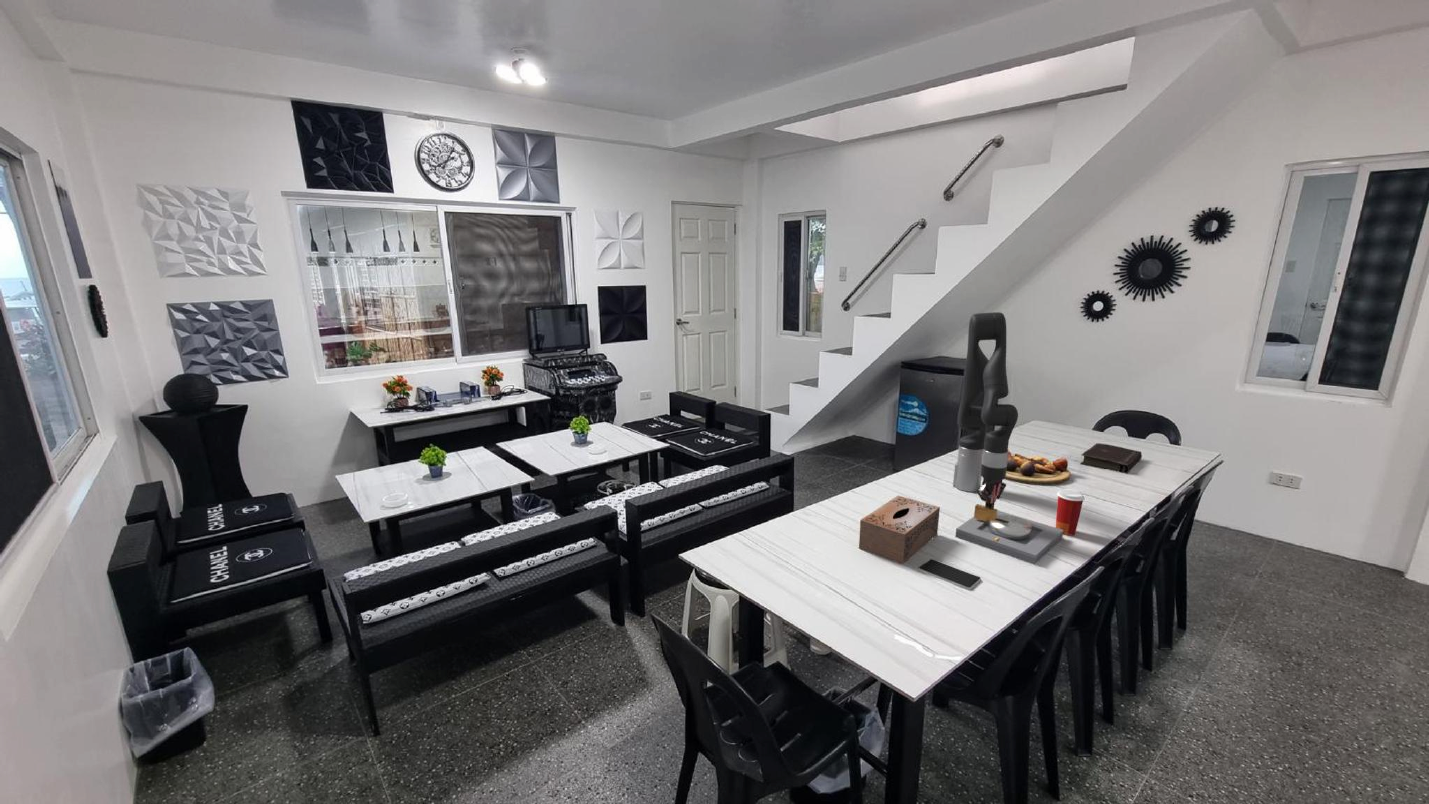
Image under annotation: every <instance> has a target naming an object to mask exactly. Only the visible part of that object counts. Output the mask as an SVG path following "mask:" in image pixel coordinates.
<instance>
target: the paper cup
mask: <svg viewBox="0 0 1429 804" xmlns="http://www.w3.org/2000/svg"><path fill="white" fill-rule="evenodd" d="M1056 496H1057V505H1056V519H1055V528H1058V529H1062V530H1063V536H1071V537H1072V536H1074V535H1076V533H1077V532H1076V531H1077V528H1078V525H1079V520H1080V516H1081V511H1082V507H1083V503H1084V501H1085V498H1086V497H1085V496H1084V494H1083V492H1082V491H1080V490H1076V489H1072V488H1061V489H1059V490H1058V492H1057V493H1056Z"/></svg>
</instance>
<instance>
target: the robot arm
mask: <svg viewBox="0 0 1429 804" xmlns="http://www.w3.org/2000/svg"><path fill="white" fill-rule="evenodd" d="M967 335H968V337H967V352H966V359H965V366H964V371H963V378H962V379H963V380H962V381H963V382H962V390H961V398H960V401H959V402H960V403H959V408H958V413H957V427H958V428H959V429H962V430H968V431H976V432H974V433H972V434H968V435H964V436H962V437H960V439H959V441H958V443H959V444H958V453H957V461H956V463H955V464H954V470H953V471H954V472H953V480H952V481H953V482H952V486H953V487H955V488H956V489H958V490H959V491H964V492H976V493H977V494H978V497H979V498H980V500H981V501H983V502H985V504H984V506H986V507H990V508H994V509H995V503H996V502H997V500H1000V498H1001V496H1002V494H1003V493H1004V490H1005V488H1006V487H1007V483H1005V482H1003V480H1006V479H1005V477H1006V469H1007V460H1008V450H1009V444H1010V443H1009V441H1010V438H1011V436H1012V433H1013V431H1014V428H1015V426H1016V424H1017V422H1018V418H1019V412H1018V409H1017V407H1016V406H1015V405H1013V404H1004V403H1001V404H1000V403H999V404H998V403H997V404H996V403H995V400H996V401H997V400H1000V399H1005V398H1006V397H1008V396H1009V393H1010V392H1009V384H1008V383H1009V382H1008V376H1007V319H1006V317H1005V314H1004V313H1002V312H1000V311H999V312H998V311H997V312H996V311H995V312H983V313H982V312H981V313H980V312H979V313H973V314H972V315H971V316H970V319H969V323H968V333H967ZM980 341H995V347H994V351H993V353H992V355H991V356H990V357H989V358H988V357H987V356H986V354H984V352H983V350H982V349H981V347H980V344H979V343H980ZM983 393H984V396H983V397H984V398H983V404H982V406H977V405H976V406H975V405H972V404H973V402H974V401H975V400H976V399H977V398H979V397H980V396H981V395H982V394H983ZM988 427H999V428H998V429H996V430H991V431H989V432H988ZM982 478H983V479H982ZM981 485H982V486H981Z"/></svg>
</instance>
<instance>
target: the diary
mask: <svg viewBox="0 0 1429 804" xmlns="http://www.w3.org/2000/svg"><path fill="white" fill-rule="evenodd" d="M1081 456H1082V457H1083V460H1082V462H1080V463H1079V465H1082V466H1088V467H1092V468H1096V469H1101V470H1105V469H1107V470H1108V469H1109V471H1114V472H1118V471H1119V472H1120V473H1123V472H1125V471H1126V473H1125V474H1126V475H1128V474H1129V472H1130V471H1131V470H1132V469H1133V468H1134V467H1135V466H1136V464H1137V463H1138V461H1139V460H1140V461H1141V460H1142V458H1143V456H1142V451H1139V450H1135V449H1134V450H1133V449H1129V448H1126V447H1121V446H1118V445H1117V446H1116V445H1112V444H1107V443H1099V442H1098V443H1095V444H1093V445H1092V446H1091V447H1090V448H1088V449H1087V450H1085V451H1084V452H1083V453H1081ZM1140 461H1139V462H1140Z"/></svg>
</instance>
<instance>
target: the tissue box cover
mask: <svg viewBox="0 0 1429 804" xmlns="http://www.w3.org/2000/svg"><path fill="white" fill-rule="evenodd" d="M940 508H941V507H940V506H937V505H934V504H929V503H926V502H923V501H919V500H916V499H913V498H909V497H905V496H901V495H897V496H895V497H893V498H892V499H891V500H889V501H888V502H886V503H884V504H883V505H881V506H880V507H878V508H877V509H875V510H873V511H872V512H871V513H869V514H867V515H866V516H864V517H863V518H862V519H860V523H859V525H860V526H859V538H858V539H859V540H858V542H859V543H858V549H860V550H862V551H864V552H867V553H870V554H874V555H876V556H878V557H882V558H884V559H887V560H888V561H893V562H895V563H897V564H901V565H904V564H906V562H907V561H908V560H909V559H911V558H912V557H913V556H915V554H917V553H918V552H919V551H920V550H921V549H922V548H923V547H924V546H926V545H927V544H928V543H930V542H931V541H932V540H933V539H934V538H935V537H936V536H938V531H939V520H940ZM932 538H933V539H932Z"/></svg>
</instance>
